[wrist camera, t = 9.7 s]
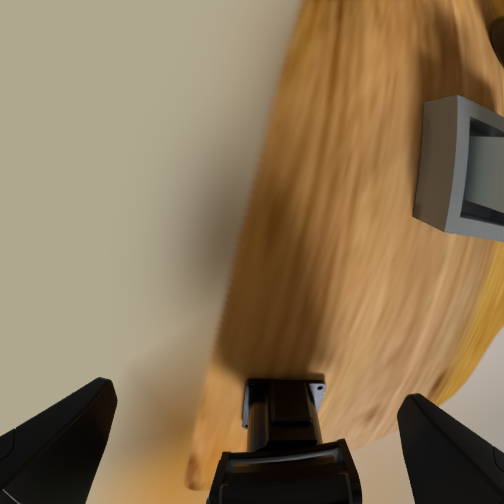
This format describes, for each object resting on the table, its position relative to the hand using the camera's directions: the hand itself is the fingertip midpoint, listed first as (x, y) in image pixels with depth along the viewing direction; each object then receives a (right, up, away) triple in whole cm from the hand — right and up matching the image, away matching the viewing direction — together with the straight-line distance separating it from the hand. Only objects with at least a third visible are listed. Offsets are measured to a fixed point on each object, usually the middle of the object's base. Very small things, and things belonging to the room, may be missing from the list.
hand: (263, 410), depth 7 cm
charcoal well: (+15, +10, +9) cm, 20 cm away
